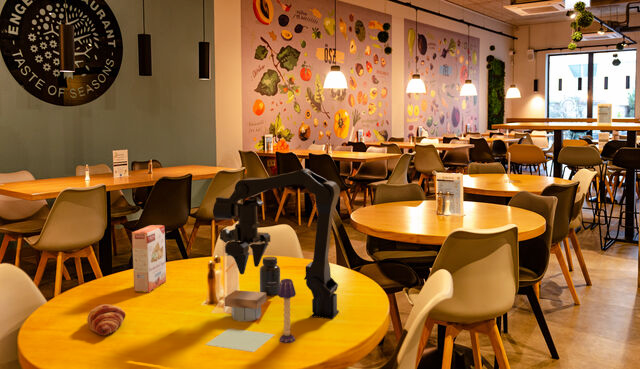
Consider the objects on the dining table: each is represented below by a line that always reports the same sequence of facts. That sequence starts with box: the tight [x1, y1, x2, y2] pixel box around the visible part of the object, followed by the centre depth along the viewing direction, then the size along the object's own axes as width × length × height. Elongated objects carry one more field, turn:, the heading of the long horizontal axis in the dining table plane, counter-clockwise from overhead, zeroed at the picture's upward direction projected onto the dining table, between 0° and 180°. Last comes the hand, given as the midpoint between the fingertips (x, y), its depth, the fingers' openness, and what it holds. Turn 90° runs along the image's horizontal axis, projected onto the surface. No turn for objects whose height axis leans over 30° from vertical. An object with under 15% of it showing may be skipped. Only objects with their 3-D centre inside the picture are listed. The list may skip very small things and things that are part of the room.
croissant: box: [86, 303, 126, 336], centre depth 160 cm, size 21×10×8 cm, turn 21°
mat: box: [204, 327, 276, 353], centre depth 148 cm, size 14×12×1 cm
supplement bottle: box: [259, 256, 281, 297], centre depth 188 cm, size 7×7×12 cm
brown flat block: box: [224, 290, 267, 309], centre depth 164 cm, size 10×7×2 cm
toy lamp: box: [277, 278, 297, 344], centre depth 146 cm, size 5×5×17 cm
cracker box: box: [131, 224, 167, 293], centre depth 196 cm, size 14×6×21 cm, turn 171°
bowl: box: [231, 305, 262, 322], centre depth 165 cm, size 8×8×4 cm
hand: (249, 270), depth 172 cm, fingers open, 9 cm apart
